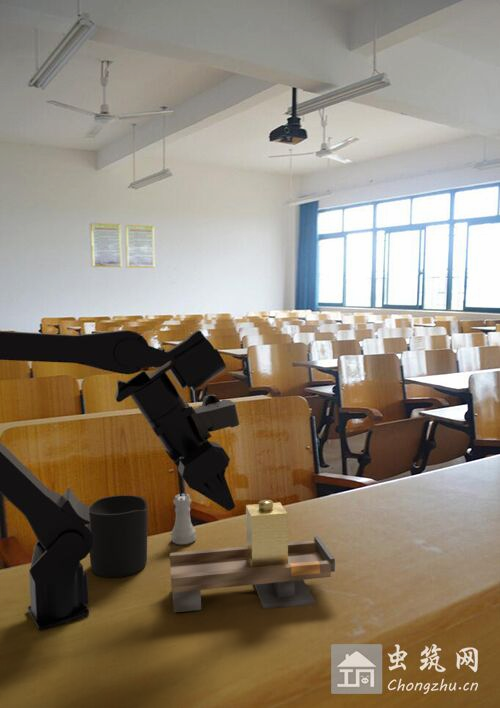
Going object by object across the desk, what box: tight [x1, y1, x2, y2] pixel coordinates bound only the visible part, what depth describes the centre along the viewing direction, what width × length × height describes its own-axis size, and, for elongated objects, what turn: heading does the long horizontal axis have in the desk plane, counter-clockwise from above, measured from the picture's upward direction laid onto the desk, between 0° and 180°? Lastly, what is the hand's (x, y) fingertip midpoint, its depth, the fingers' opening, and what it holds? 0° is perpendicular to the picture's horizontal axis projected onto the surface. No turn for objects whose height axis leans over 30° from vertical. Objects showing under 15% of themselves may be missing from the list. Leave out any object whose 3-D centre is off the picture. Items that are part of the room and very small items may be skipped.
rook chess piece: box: [170, 493, 197, 546], centre depth 100 cm, size 4×4×8 cm
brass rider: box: [245, 499, 289, 568], centre depth 80 cm, size 5×5×9 cm
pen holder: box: [89, 494, 148, 579], centre depth 90 cm, size 9×9×10 cm
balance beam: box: [169, 535, 336, 613], centre depth 80 cm, size 22×9×6 cm, turn 99°
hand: (223, 498), depth 82 cm, fingers open, 9 cm apart
